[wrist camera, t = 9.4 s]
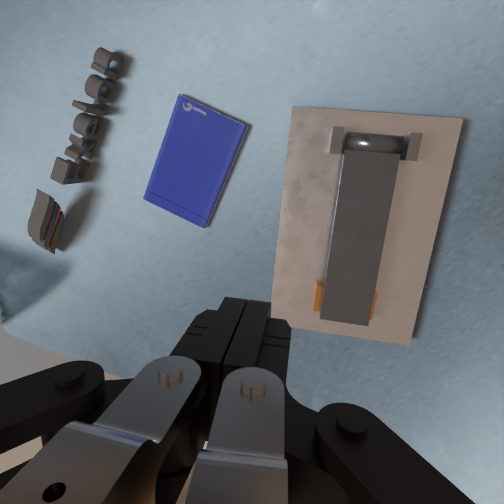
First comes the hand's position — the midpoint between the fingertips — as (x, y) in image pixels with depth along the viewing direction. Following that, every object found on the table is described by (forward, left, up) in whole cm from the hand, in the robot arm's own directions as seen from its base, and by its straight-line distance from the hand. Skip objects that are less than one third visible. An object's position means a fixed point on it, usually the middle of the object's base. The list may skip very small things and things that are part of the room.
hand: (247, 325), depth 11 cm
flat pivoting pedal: (+1, +7, -26) cm, 27 cm away
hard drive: (-4, -12, -30) cm, 32 cm away
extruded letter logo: (-3, -25, -30) cm, 39 cm away
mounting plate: (+2, +7, -29) cm, 30 cm away
